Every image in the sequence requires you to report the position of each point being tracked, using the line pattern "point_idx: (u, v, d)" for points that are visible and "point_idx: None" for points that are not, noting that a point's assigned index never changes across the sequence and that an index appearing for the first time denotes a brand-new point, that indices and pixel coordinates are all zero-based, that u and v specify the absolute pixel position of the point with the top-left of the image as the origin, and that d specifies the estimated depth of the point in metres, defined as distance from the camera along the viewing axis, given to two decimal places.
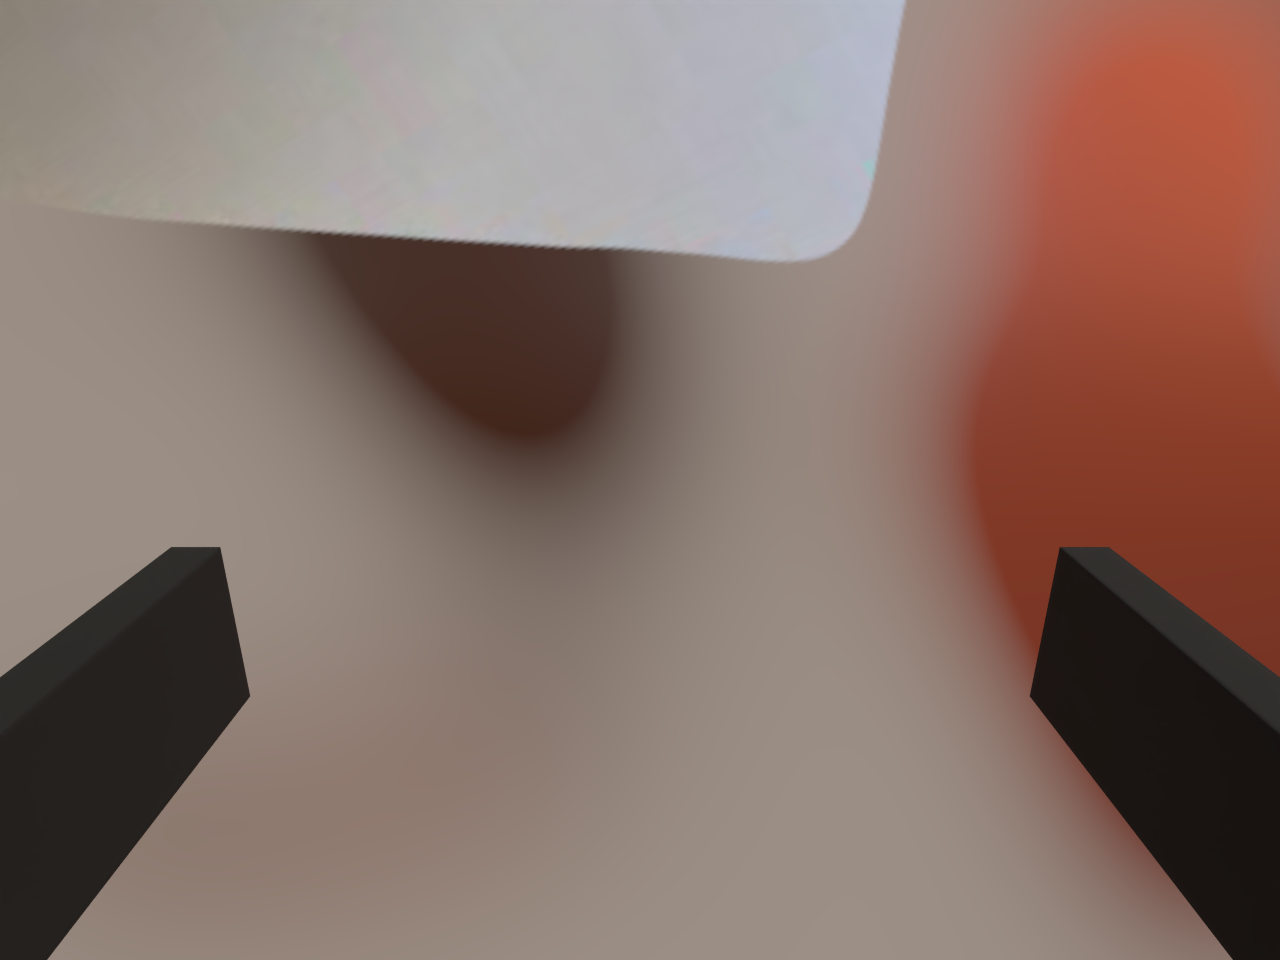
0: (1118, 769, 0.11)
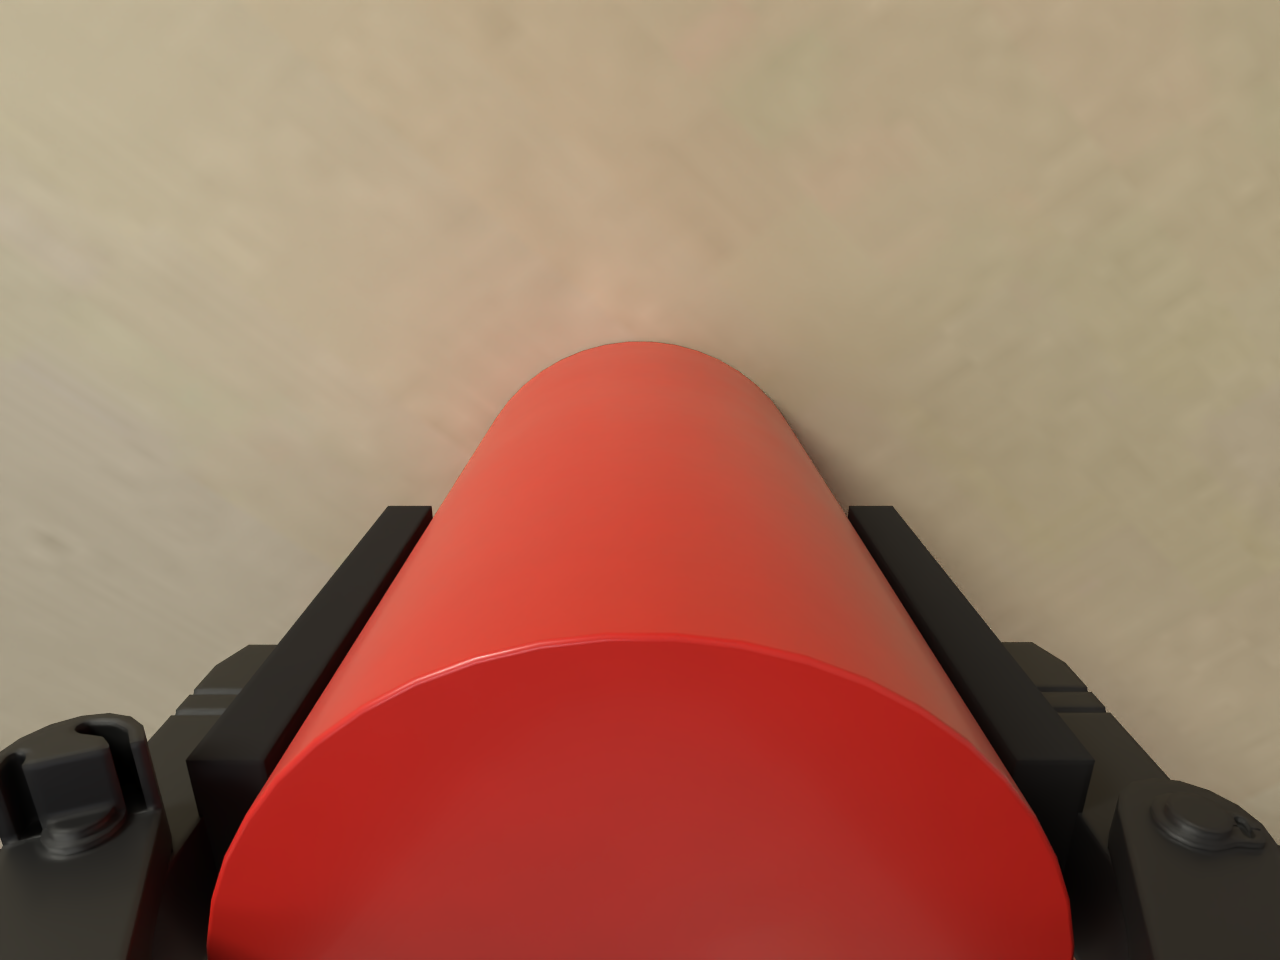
0: None
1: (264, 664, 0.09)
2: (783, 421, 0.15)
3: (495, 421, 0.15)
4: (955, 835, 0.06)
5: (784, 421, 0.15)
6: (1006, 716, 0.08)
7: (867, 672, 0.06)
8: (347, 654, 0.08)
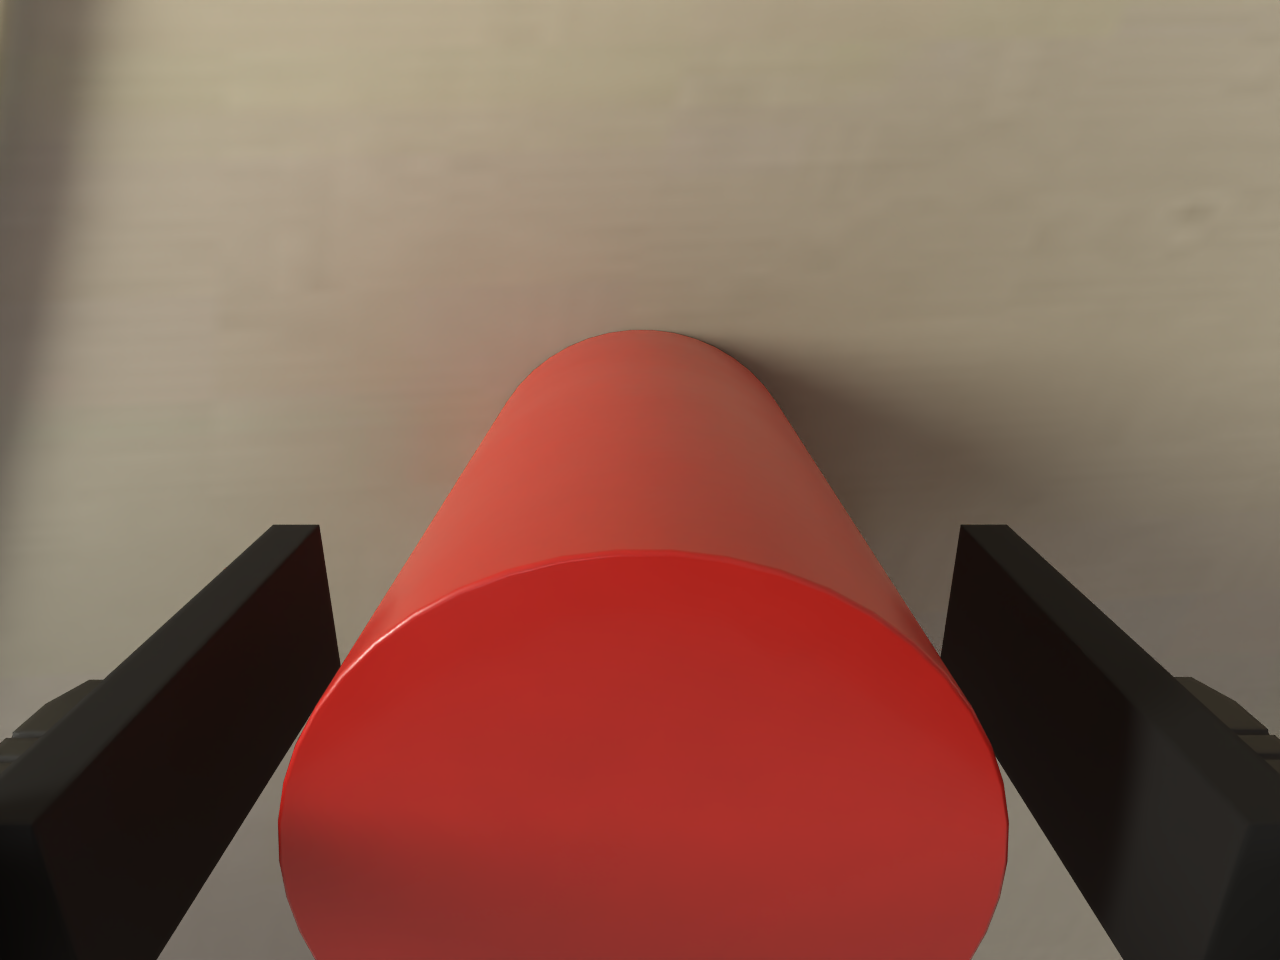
0: (1002, 728, 0.11)
1: (74, 708, 0.08)
2: (773, 402, 0.16)
3: (507, 403, 0.16)
4: (904, 724, 0.07)
5: (774, 402, 0.16)
6: (1216, 771, 0.07)
7: (829, 584, 0.07)
8: (388, 591, 0.09)
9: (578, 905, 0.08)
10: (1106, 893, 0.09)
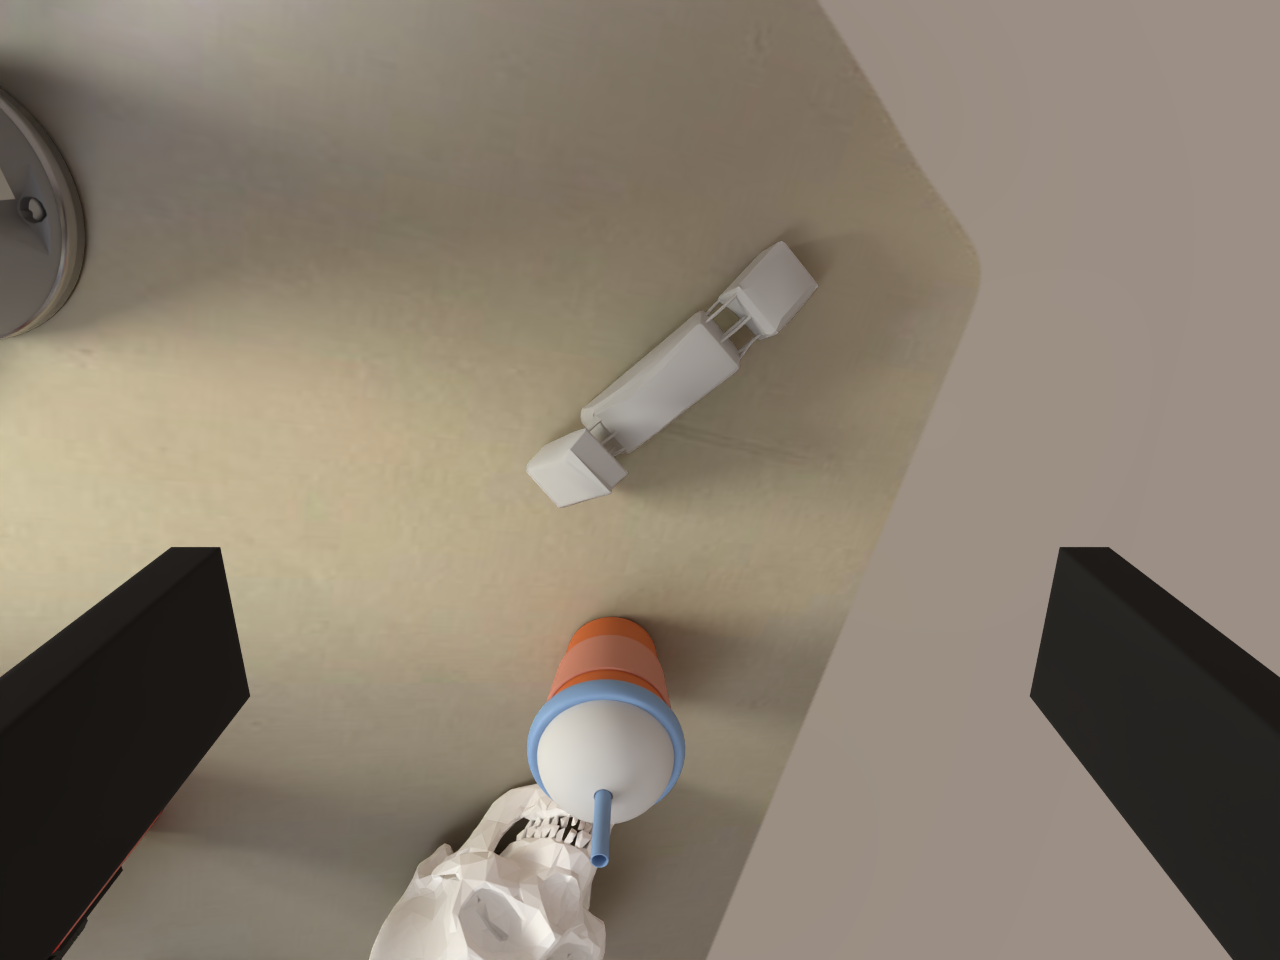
0: (1119, 769, 0.11)
1: None
2: None
3: None
4: None
5: None
6: None
7: None
8: None
9: None
10: None
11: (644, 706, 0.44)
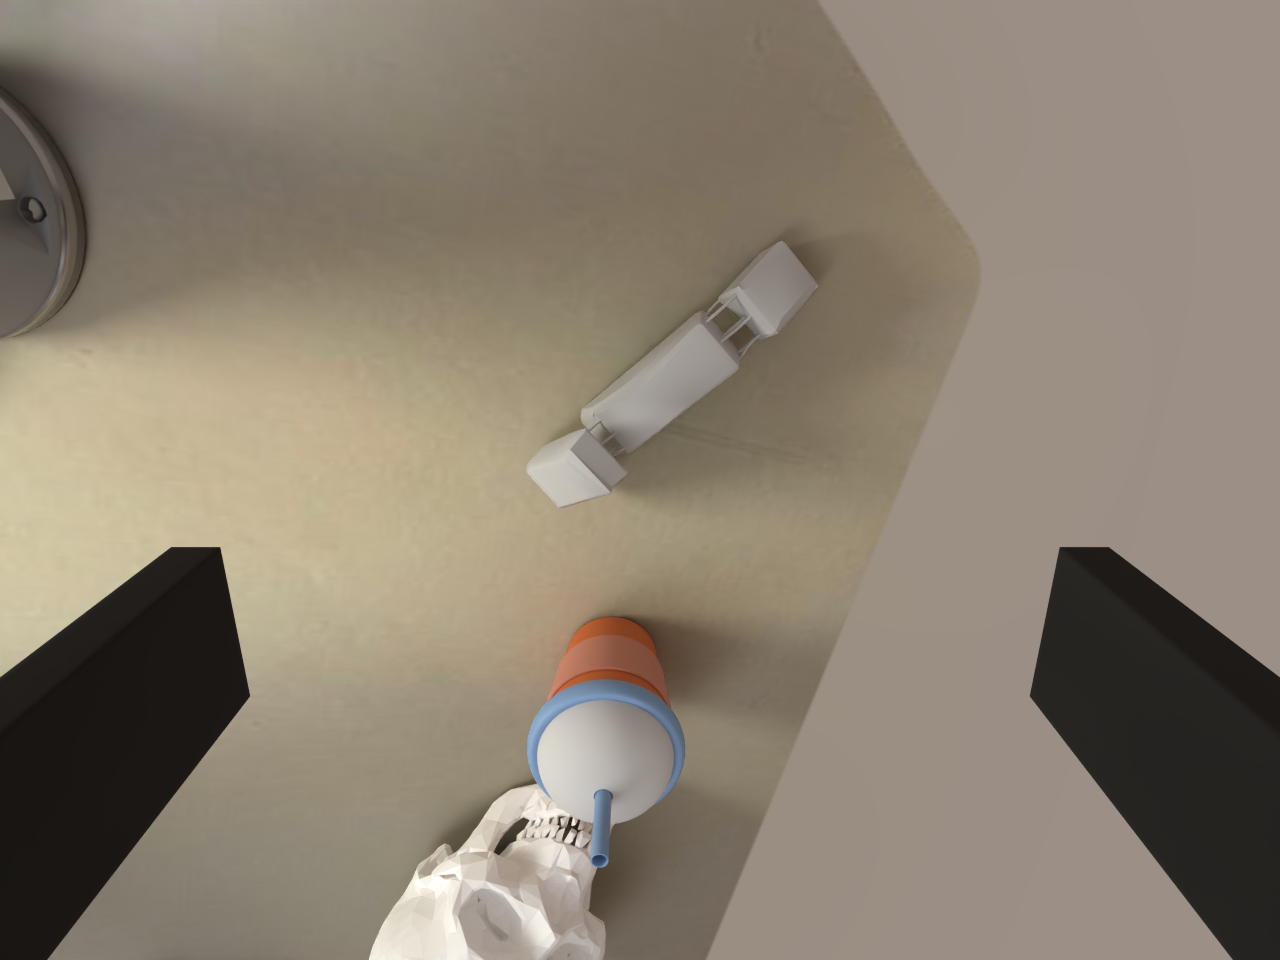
0: (1119, 769, 0.11)
1: None
2: None
3: None
4: None
5: None
6: None
7: None
8: None
9: None
10: None
11: (644, 706, 0.44)
